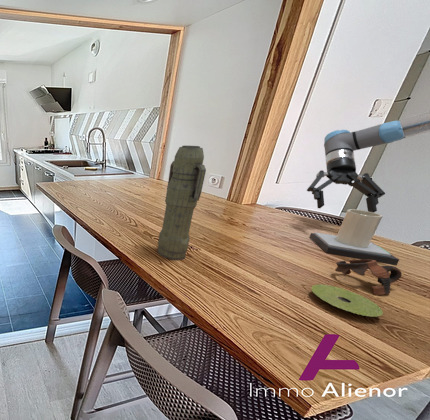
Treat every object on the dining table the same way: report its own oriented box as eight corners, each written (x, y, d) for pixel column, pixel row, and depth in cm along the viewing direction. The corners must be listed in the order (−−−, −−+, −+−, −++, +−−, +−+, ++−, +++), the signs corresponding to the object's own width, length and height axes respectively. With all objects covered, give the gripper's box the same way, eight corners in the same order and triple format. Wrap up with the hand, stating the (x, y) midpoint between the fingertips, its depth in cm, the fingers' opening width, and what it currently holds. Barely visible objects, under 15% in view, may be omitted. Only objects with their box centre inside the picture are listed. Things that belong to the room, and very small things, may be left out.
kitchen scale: (368, 246, 87) (372, 239, 87) (396, 265, 76) (400, 257, 75) (309, 237, 95) (311, 231, 94) (326, 253, 83) (329, 245, 82)
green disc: (306, 284, 66) (308, 278, 65) (371, 303, 59) (374, 296, 58) (311, 307, 58) (314, 300, 57) (387, 331, 51) (391, 324, 50)
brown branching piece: (365, 298, 61) (352, 265, 63) (332, 291, 71) (321, 262, 72) (423, 291, 59) (409, 257, 61) (381, 285, 68) (370, 255, 70)
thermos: (166, 243, 88) (184, 144, 77) (195, 259, 78) (221, 147, 67) (147, 247, 85) (163, 145, 74) (175, 264, 75) (198, 148, 63)
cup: (360, 240, 86) (373, 211, 82) (373, 249, 80) (388, 218, 76) (331, 236, 89) (343, 208, 85) (341, 244, 83) (355, 214, 79)
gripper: (303, 155, 100) (306, 199, 92) (394, 159, 89) (405, 209, 81) (294, 167, 106) (296, 209, 99) (378, 172, 95) (387, 219, 88)
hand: (345, 209), depth 90 cm, fingers open, 13 cm apart
